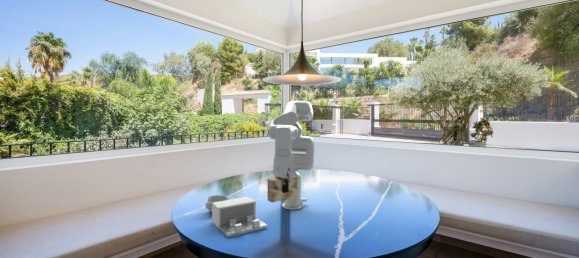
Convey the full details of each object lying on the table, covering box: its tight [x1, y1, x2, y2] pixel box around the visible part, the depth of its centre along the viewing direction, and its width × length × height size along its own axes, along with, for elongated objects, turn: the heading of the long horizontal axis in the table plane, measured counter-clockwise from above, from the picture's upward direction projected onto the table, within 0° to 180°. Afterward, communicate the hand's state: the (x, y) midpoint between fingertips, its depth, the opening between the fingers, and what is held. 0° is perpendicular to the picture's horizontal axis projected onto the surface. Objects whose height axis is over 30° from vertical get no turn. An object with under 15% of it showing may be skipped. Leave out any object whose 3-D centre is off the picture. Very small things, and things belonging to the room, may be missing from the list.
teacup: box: [205, 194, 229, 213], centre depth 157 cm, size 14×11×8 cm
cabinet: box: [211, 196, 257, 229], centre depth 145 cm, size 20×9×10 cm, turn 124°
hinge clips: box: [217, 215, 268, 239], centre depth 136 cm, size 20×12×4 cm, turn 124°
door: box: [267, 175, 297, 203], centre depth 133 cm, size 14×5×10 cm, turn 124°
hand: (282, 190), depth 134 cm, fingers closed on door, 4 cm apart
